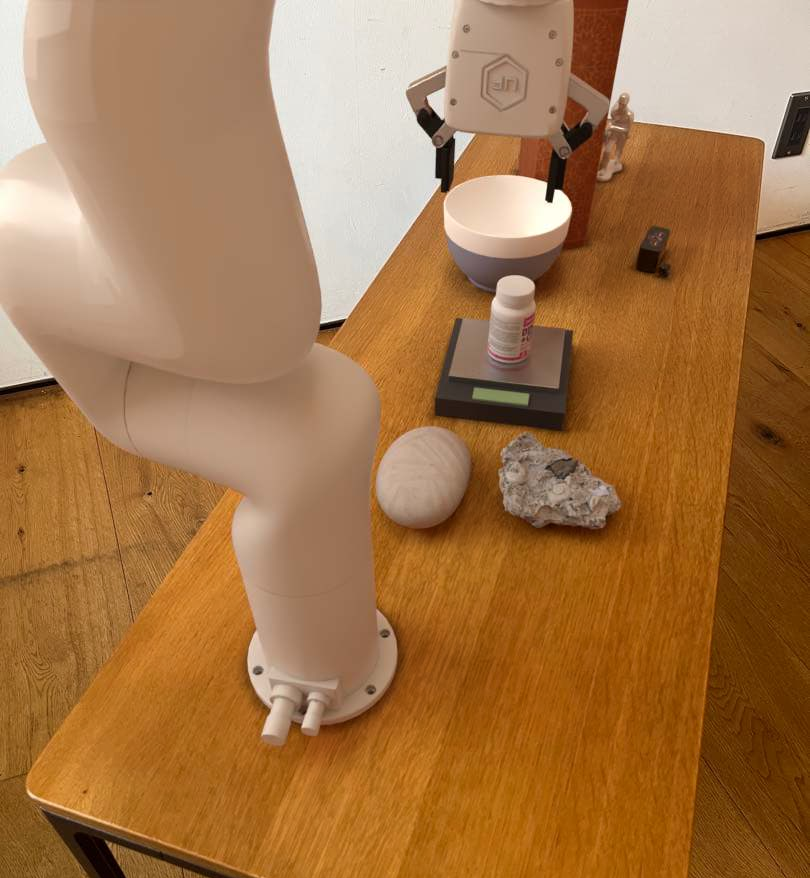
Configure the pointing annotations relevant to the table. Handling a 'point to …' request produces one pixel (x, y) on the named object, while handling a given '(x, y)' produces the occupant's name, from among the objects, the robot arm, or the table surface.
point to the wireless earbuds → (654, 251)
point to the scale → (502, 396)
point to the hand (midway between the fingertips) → (498, 191)
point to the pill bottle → (512, 319)
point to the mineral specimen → (552, 486)
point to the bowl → (504, 228)
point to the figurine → (616, 137)
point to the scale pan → (527, 374)
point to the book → (582, 109)
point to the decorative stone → (423, 477)
